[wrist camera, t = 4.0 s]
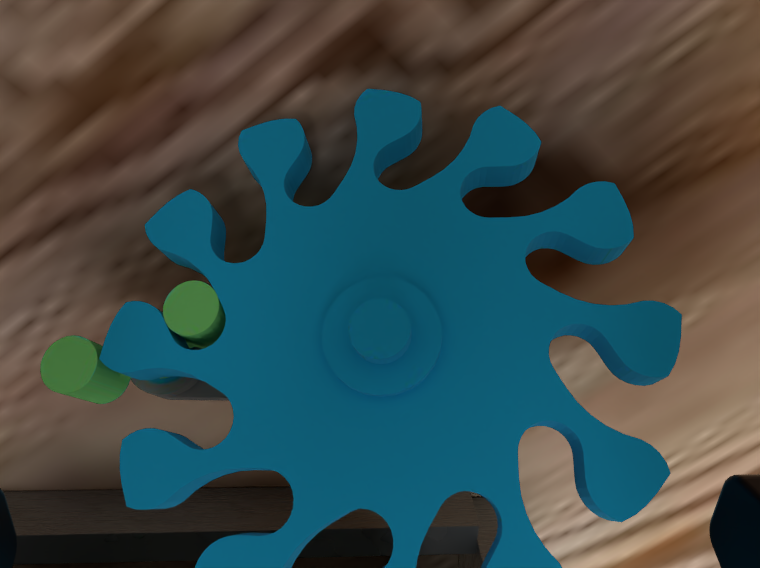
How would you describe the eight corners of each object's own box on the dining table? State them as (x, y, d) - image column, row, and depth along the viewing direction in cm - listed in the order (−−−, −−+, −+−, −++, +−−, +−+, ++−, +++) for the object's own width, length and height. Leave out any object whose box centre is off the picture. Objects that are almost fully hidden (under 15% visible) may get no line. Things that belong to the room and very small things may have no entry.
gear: (663, 60, 12) (748, 699, 8) (589, 203, 17) (623, 620, 14) (76, 78, 13) (-43, 657, 9) (187, 208, 18) (135, 599, 15)
